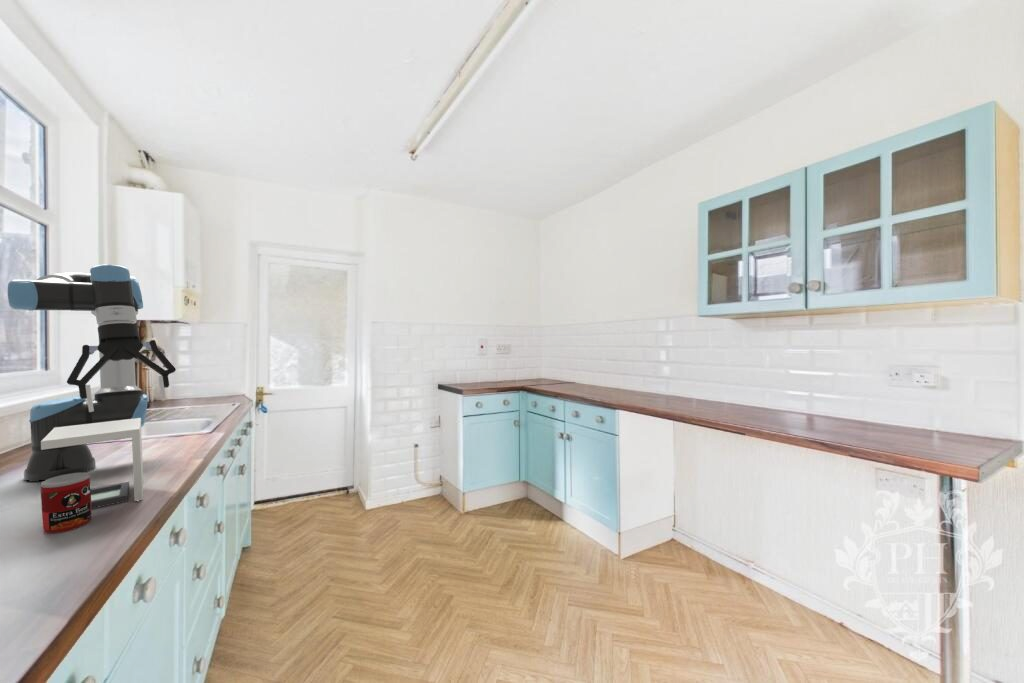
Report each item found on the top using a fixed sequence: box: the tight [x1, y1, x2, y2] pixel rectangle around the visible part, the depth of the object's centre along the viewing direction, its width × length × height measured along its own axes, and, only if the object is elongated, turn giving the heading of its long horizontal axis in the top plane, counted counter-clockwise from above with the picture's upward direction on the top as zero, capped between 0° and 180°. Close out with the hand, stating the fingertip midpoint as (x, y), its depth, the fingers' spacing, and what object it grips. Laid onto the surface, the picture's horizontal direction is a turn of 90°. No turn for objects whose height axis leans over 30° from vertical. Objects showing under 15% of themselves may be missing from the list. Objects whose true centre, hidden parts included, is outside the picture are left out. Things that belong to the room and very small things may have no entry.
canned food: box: [40, 472, 93, 534], centre depth 93 cm, size 8×8×11 cm
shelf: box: [41, 418, 144, 502], centre depth 108 cm, size 17×18×19 cm
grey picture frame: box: [91, 481, 130, 509], centre depth 107 cm, size 13×13×2 cm
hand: (129, 405), depth 105 cm, fingers open, 13 cm apart
